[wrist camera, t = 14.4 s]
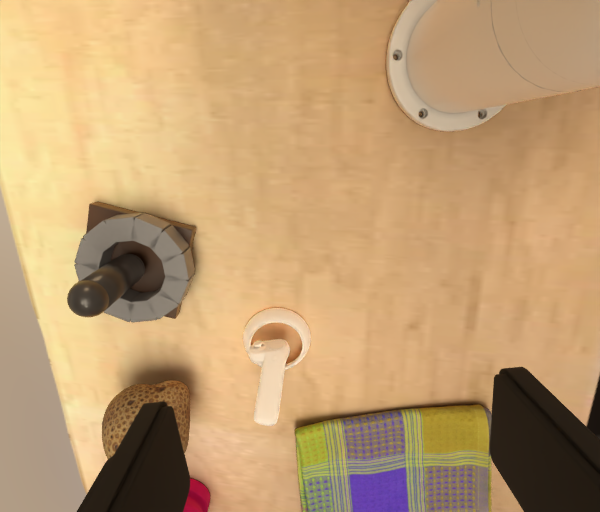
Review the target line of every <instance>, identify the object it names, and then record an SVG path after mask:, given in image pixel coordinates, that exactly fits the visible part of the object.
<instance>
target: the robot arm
mask: <svg viewBox="0 0 600 512" xmlns="http://www.w3.org/2000/svg"><path fill="white" fill-rule="evenodd" d="M393 55H397V57H398V59H397V60H394V59H393ZM386 71H387V78H388V83H389V86H390V89H391V92H392V95H393V97H394V99H395V100H396V102H397V104H398V105H399V107H400V108H401V109H402V110H403V112H404V113H405V114H406V115H407V116H408V117H409V118H411V119H412V120H413V121H415V122H416V123H417V124H419V125H422V126H424V127H426V128H428V129H432V130H437V131H460V130H466V129H469V128H472V127H476V126H478V125H480V124H482V123H484V122H486V121H488V120H489V119H491V118H492V117H493V116H495V115H496V114H497V113H499V112H500V111H501V110H502V109H503V108H504V107H505V106H506V104H512V103H517V102H522V101H528V100H533V99H539V98H544V97H549V96H555V95H560V94H565V93H571V92H576V91H580V90H585V89H590V88H595V87H600V0H411V1H410V2H409V3H408V5H407V6H406V7H405V9H404V10H403V11H402V13H401V15H400V16H399V18H398V20H397V22H396V23H395V25H394V28H393V31H392V33H391V36H390V39H389V43H388V49H387V54H386ZM420 111H421V112H422V116H421V117H419V115H418V113H419V112H420ZM478 112H479V113H480V116H479V117H478ZM490 455H491V458H492V461H493V463H494V464H495V466H496V468H497V469H498V471H499V472H500V474H501V475H502V477H503V479H504V480H505V482H506V483H507V485H508V487H509V488H510V490H511V491H512V493H513V495H514V496H515V498H516V499H517V501H518V502H519V504H520V506H521V507H522V509H523V510H524V512H600V440H599V439H598V438H597V437H596V436H595V435H594V434H593V433H592V432H591V431H590V430H589V429H588V428H587V427H586V426H585V425H584V424H583V423H582V422H581V421H580V420H579V419H578V418H577V417H576V416H575V415H574V414H572V413H571V412H570V411H569V410H568V409H567V408H566V407H565V406H564V405H563V404H562V403H561V402H560V401H559V400H558V399H557V398H556V397H555V396H554V395H553V394H552V393H551V392H550V391H549V390H548V389H547V388H545V387H544V386H543V385H542V384H541V383H540V382H539V381H538V380H537V379H536V378H535V377H534V376H533V375H532V374H531V373H530V372H529V371H528V370H527V369H525V368H524V367H515V368H505V369H501V370H500V372H499V374H498V375H495V377H494V388H493V403H492V419H491V434H490ZM189 490H190V475H189V471H188V467H187V463H186V459H185V455H184V450H183V446H182V442H181V438H180V434H179V430H178V426H177V421H176V417H175V413H174V409H173V407H172V406H167V404H166V402H164V401H163V402H153V403H145V404H143V405H142V407H141V409H140V410H139V412H138V414H137V415H136V417H135V419H134V421H133V422H132V424H131V426H130V428H129V429H128V431H127V433H126V435H125V436H124V438H123V440H122V441H121V443H120V445H119V447H118V448H117V450H116V452H115V454H114V455H113V456H112V457H111V458H109V459H108V460H107V462H106V463H105V465H104V466H103V468H102V470H101V471H100V473H99V475H98V476H97V478H96V480H95V482H94V483H93V485H92V487H91V488H90V490H89V492H88V493H87V495H86V497H85V499H84V500H83V502H82V504H81V505H80V507H79V509H78V510H77V512H183V510H184V507H185V504H186V500H187V497H188V494H189Z"/></svg>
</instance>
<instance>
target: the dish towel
mask: <svg viewBox="0 0 600 512" xmlns="http://www.w3.org/2000/svg"><path fill="white" fill-rule="evenodd" d="M491 419H492V415H491V412H490V411H489V409H487V408H483V407H482V406H481V405H480V404H478V405H471V406H465V405H463V406H457V405H456V406H446V407H431V408H418V409H402V410H393V411H385V412H380V413H373V414H366V415H361V416H355V417H348V418H339V419H333V420H327V421H323V422H319V423H315V424H312V425H308V426H304V427H299V428H296V429H295V436H296V450H297V463H298V477H299V488H300V497H301V507H302V512H491V455H490V434H491Z"/></svg>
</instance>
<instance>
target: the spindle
mask: <svg viewBox="0 0 600 512" xmlns="http://www.w3.org/2000/svg"><path fill="white" fill-rule="evenodd" d="M133 213H140V212H136V211H132V210H128V209H124V208H120V207H116V206H112V205H109V204H105V203H101V202H95V203H91V204H90V205H89V214H88V223H87V232H86V234H87V233H88V232H89V231H90V230H92V229H93V228H94V227H95V226H97V225H98V224H99V223H101V222H102V221H103V220H106V219H108V218H111V217H113V216H116V215H122V214H133ZM143 214H144V213H143ZM154 217H155V216H154ZM156 218H159V217H156ZM159 219H161V220H163V221H166V222H168V223H170V226H171V225H173V226H174V228H175V229H176V230H177V231H178V232H179V233H180V235H181V236H182V237H183V238H184V239H185V241H186V242H187V243H188V244H189V247H190V248H191V251H192V246H193V241H194V236H195V231H196V227H194V226H190V225H186V224H182V223H179V222H175V221H171V220H167V219H163V218H159ZM110 260H111V261H110V262H109V263H107V264H106V265H104V266H103V267H101V268H99V269H98V270H96V271H95V272H93V273H92V274H90V275H88V276H87V277H85V278H84V279H82V280H81V281H79V282H78V283H76V284H75V285H74V286H73V287H72V288H71V289H70V291H69V293H68V297H67V302H68V305H69V307H70V309H71V310H72V311H73V312H74V313H75V314H77V315H79V316H82V317H94V316H97V315H100V314H101V313H103V312H104V311H105V310H106V309H107V308H109V307H110V306H111V305H112V304H113V303H114V302H115V301H117V300H118V299H119V298H120V297H121V296H122V295H123V294H124V293H126V292H127V291H128V290H129V289H132V290H135V291H137V292H140V293H143V292H154V291H157V290H158V289H160V288H161V287H162V285H163V282H164V279H165V273H164V269H163V264H162V260H161V259H160V258H159V257H158V256H157V255H156V254H155V252H154V251H153V250H152V249H151V248H150V247H148V246H145V245H143V244H140V243H138V242H135V241H126V242H119V243H118V244H117V245H115V247H114V250H113V253H112V256H111V259H110ZM180 307H181V303H180V304H179V306H177V307H176V308H174V309H173V310H172V311H170V312H169V313H167V314H166V315H165V316H166V317H170V318H174V319H175V318H176V317H177V315H178V314H179V312H180Z"/></svg>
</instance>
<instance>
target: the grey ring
mask: <svg viewBox="0 0 600 512" xmlns="http://www.w3.org/2000/svg"><path fill="white" fill-rule="evenodd" d="M126 241H135V242H138V243H140V244H143V245H145V246H148V247H150V248H151V249H152V250H153V251H154V252H155V254H156V255H157V256H158V257H159V258H160V259H161V260H162V264H163V269H164V273H165V279H164V282H163V285H162V287H161V288H160V289H158V290H157V291H154V292H143V293H140V292H137V291H135V290H132V289H129V290H128V291H127V292H126V293H124V294H123V295H122V296H121V297H120V298H119V299H118V300H117V301H115V302H114V303H113V304H112V305H111V306H110V307H109V308H107V309H106V310H105V311H104V313H106V314H109V315H112V316H114V317H117V318H120V319H122V320H125V321H127V322H130V321H131V322H141V321H151V320H157V319H160V318H162V317H163V316H165V315H166V314H167V313H169V312H170V311H172V310H173V309H174V308H176V307H177V306H179V304H180V303H181V302H182V300H183V299H184V297H185V296H186V295H187V292H188V290H189V287H190V285H191V282H192V280H193V277H194V275H195V273H194V272H195V268H194V263H193V258H192V252H191V248H190V247H189V244H188V243H187V242H186V241H185V239H184V238H183V237H182V236H181V235H180V233H179V232H178V231H177V230H176V229H175V228H174V226H173V225H171V226H170V223H168V222H166V221H163V220H161V219H159V218H156V217H154V216H152V215H149V214H147V213H144V214H143V213H133V214H122V215H116V216H113V217H111V218H108V219H106V220H103V221H102V222H101V223H99V224H98V225H97V226H95V227H94V228H93V229H92V230H90V231H89V232H88V233H87V234H85V235H84V236H83V238H82V239H81V242H80V245H79V249H78V252H77V256H76V259H75V263H76V264H75V269H76V272H77V276H78V279H79V281H81V280H82V279H84V278H85V277H87V276H88V275H90V274H92V273H93V272H95V271H96V270H98V269H99V268H101V267H103V266H104V265H106V264H107V263H109V262H110V261H111V260H110V259H111V256H112V253H113V250H114V247H115V245H117V244H118V243H119V242H126Z"/></svg>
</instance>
